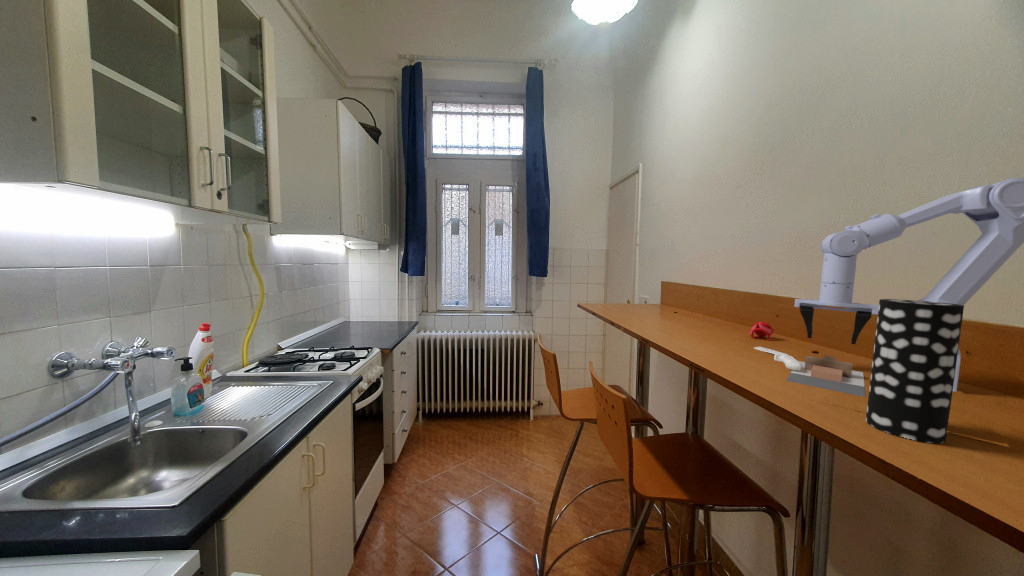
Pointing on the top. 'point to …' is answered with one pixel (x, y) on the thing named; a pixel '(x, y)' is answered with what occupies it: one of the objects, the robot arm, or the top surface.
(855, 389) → the board
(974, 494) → the top surface
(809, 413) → the top surface
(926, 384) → the spotted tube
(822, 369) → the tile
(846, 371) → the pusher
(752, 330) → the red openwork dome
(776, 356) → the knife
